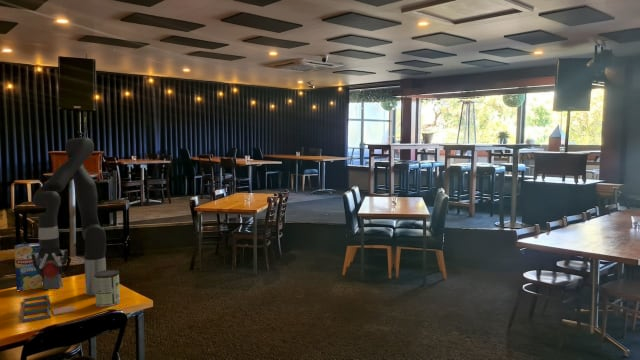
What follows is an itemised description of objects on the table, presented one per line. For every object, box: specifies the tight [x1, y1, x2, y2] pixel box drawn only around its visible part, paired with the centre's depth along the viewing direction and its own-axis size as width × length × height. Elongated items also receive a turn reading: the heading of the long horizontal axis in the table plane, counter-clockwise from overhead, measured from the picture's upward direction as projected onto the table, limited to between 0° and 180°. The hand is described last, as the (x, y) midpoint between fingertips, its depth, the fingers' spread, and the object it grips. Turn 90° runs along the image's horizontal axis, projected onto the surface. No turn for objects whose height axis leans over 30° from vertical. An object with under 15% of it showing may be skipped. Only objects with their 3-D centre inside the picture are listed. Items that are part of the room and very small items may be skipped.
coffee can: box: [94, 269, 121, 308], centre depth 216 cm, size 10×10×14 cm
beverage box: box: [13, 242, 43, 291], centre depth 239 cm, size 7×11×22 cm, turn 120°
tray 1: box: [22, 294, 51, 305], centre depth 218 cm, size 10×10×1 cm
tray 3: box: [21, 307, 52, 323], centre depth 200 cm, size 10×10×1 cm
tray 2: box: [22, 300, 51, 312], centre depth 209 cm, size 10×10×1 cm
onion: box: [43, 261, 58, 279], centre depth 206 cm, size 6×6×8 cm
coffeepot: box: [37, 255, 72, 291], centre depth 241 cm, size 15×9×18 cm, turn 117°
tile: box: [51, 305, 76, 317], centre depth 206 cm, size 8×8×1 cm
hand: (51, 275), depth 206 cm, fingers closed on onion, 6 cm apart
